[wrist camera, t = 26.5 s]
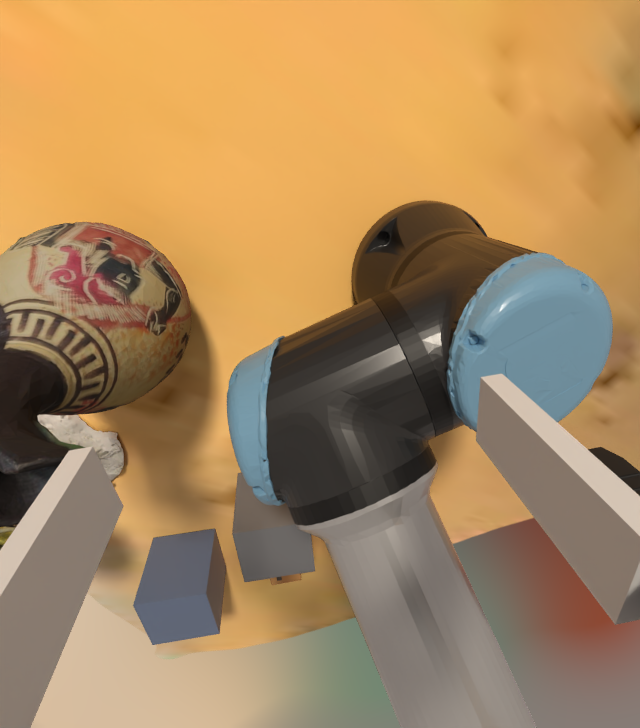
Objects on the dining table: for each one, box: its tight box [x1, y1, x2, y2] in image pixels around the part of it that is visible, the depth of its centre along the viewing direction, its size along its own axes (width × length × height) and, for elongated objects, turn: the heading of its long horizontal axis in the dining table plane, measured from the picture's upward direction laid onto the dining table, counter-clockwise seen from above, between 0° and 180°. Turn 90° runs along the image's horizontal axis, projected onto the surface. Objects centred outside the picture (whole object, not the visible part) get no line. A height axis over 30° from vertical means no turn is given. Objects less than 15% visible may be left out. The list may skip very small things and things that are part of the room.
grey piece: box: [0, 414, 124, 550], centre depth 43 cm, size 14×20×16 cm
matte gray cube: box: [232, 473, 315, 582], centre depth 52 cm, size 9×9×10 cm
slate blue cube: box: [133, 529, 226, 645], centre depth 56 cm, size 9×9×10 cm
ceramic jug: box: [0, 222, 191, 527], centre depth 28 cm, size 17×15×30 cm
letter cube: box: [270, 573, 301, 585], centre depth 60 cm, size 4×4×5 cm
